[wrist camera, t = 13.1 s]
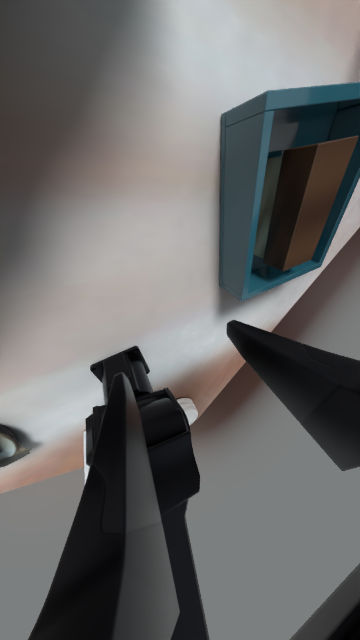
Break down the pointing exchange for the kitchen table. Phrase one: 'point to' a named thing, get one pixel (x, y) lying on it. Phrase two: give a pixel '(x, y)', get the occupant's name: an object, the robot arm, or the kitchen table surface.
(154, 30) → the kitchen table surface
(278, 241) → the tall brown box
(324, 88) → the open box
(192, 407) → the coaster
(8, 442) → the salad plate
